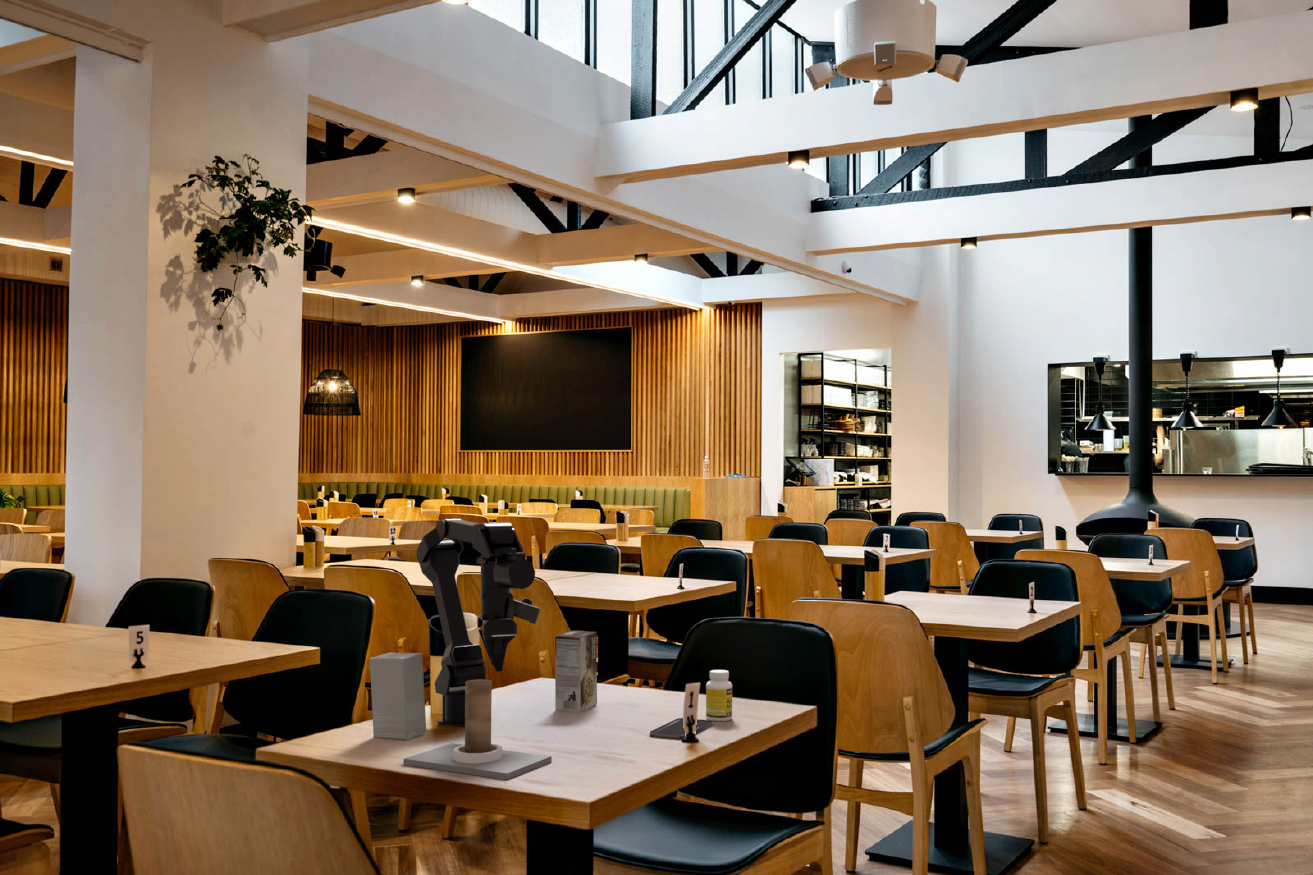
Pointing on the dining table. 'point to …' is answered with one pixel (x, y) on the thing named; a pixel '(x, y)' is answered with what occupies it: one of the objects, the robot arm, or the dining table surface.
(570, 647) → the coffee box
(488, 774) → the board
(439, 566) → the robot arm
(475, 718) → the walnut pin
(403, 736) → the skincare box
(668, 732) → the phone
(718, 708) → the supplement bottle
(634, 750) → the dining table surface
